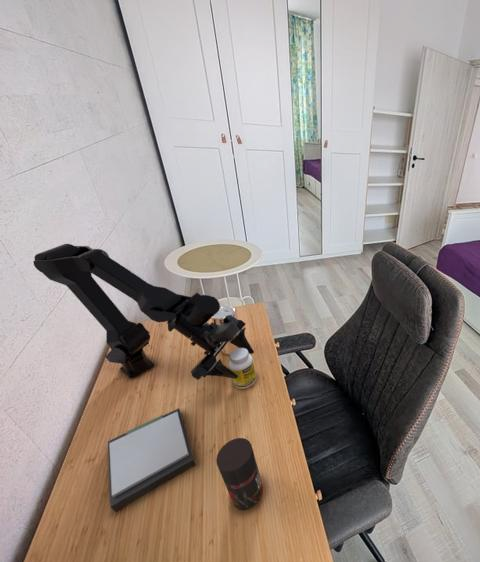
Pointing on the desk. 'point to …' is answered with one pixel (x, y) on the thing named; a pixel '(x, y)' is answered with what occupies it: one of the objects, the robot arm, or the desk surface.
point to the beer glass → (218, 320)
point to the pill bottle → (242, 368)
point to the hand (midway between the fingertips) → (245, 364)
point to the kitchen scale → (147, 458)
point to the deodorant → (240, 473)
